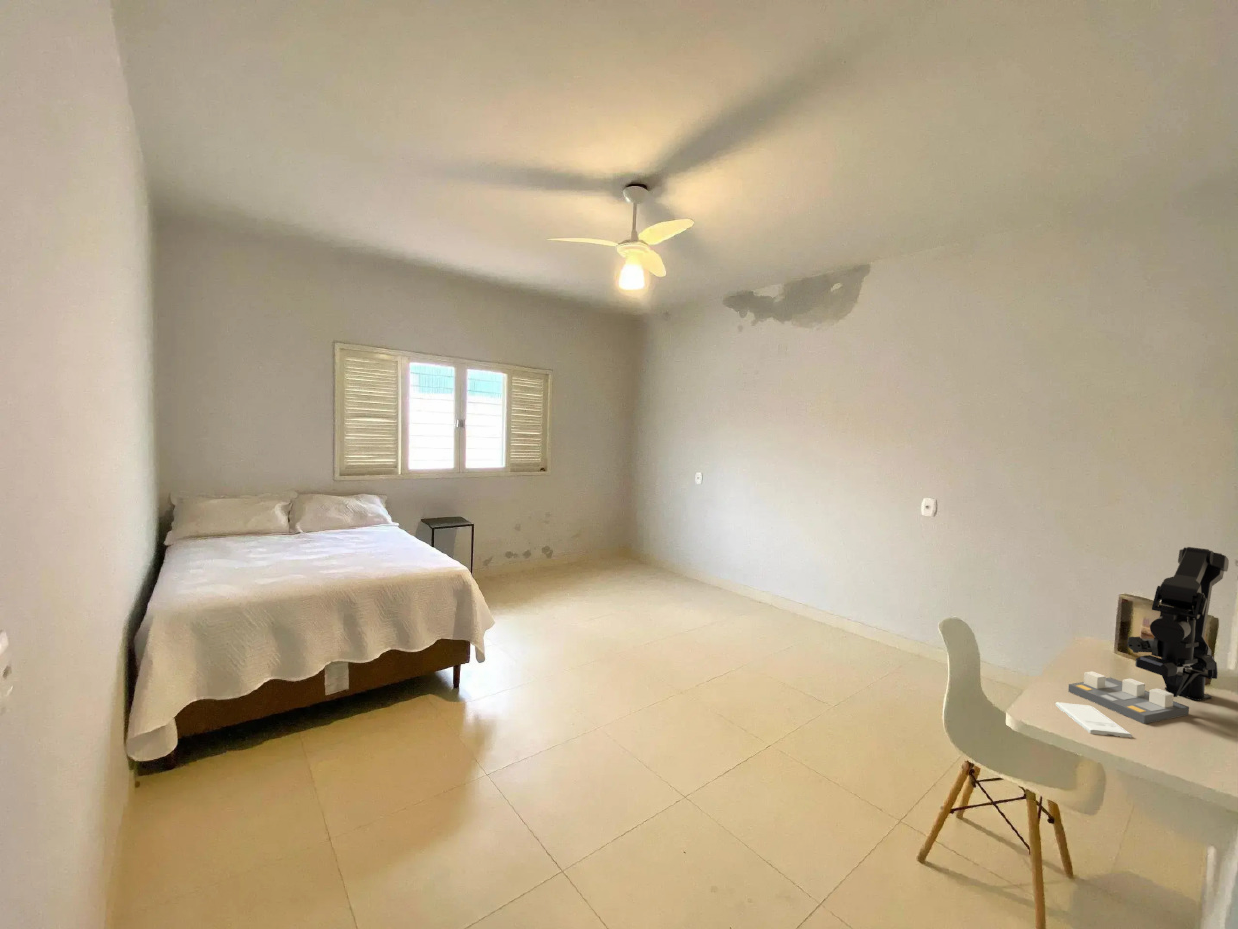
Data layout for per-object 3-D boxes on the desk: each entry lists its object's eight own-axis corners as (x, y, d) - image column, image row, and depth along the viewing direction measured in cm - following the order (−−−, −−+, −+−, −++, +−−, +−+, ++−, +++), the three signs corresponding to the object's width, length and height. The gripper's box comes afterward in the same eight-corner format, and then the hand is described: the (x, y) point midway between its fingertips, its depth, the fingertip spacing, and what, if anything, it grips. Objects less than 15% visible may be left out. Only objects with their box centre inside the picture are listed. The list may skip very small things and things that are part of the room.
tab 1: (1091, 682, 136) (1092, 671, 136) (1104, 687, 134) (1105, 676, 133) (1083, 683, 136) (1084, 672, 136) (1096, 688, 133) (1097, 677, 133)
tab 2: (1129, 689, 133) (1130, 678, 132) (1144, 695, 130) (1145, 683, 130) (1121, 691, 132) (1122, 679, 132) (1136, 696, 129) (1137, 685, 129)
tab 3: (1157, 700, 127) (1157, 688, 127) (1172, 706, 124) (1173, 694, 124) (1148, 701, 126) (1149, 689, 126) (1164, 707, 124) (1165, 695, 123)
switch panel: (1110, 684, 140) (1110, 677, 140) (1188, 714, 125) (1189, 706, 124) (1068, 691, 136) (1068, 683, 136) (1144, 723, 120) (1144, 715, 120)
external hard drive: (1092, 712, 127) (1132, 740, 114) (1054, 708, 128) (1089, 735, 116) (1092, 705, 126) (1132, 733, 114) (1055, 701, 128) (1090, 728, 116)
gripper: (1160, 620, 136) (1156, 677, 137) (1111, 626, 131) (1108, 685, 132) (1218, 636, 125) (1214, 697, 126) (1168, 643, 120) (1164, 707, 121)
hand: (1173, 696), depth 126 cm, fingers closed
